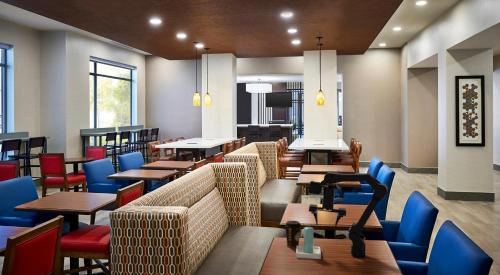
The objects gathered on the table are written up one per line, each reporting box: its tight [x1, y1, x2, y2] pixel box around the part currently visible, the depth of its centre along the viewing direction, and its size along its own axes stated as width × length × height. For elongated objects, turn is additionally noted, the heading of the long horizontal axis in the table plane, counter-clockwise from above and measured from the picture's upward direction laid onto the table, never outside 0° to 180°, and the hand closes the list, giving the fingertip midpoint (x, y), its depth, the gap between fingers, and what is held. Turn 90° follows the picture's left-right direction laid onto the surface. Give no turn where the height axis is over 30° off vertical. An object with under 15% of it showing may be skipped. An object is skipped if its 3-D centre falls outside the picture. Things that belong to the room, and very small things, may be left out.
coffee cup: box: [284, 220, 302, 248], centre depth 216 cm, size 9×8×13 cm
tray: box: [295, 245, 322, 260], centre depth 203 cm, size 12×12×2 cm
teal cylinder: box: [303, 226, 314, 253], centre depth 203 cm, size 5×5×12 cm
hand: (326, 226), depth 207 cm, fingers open, 9 cm apart
